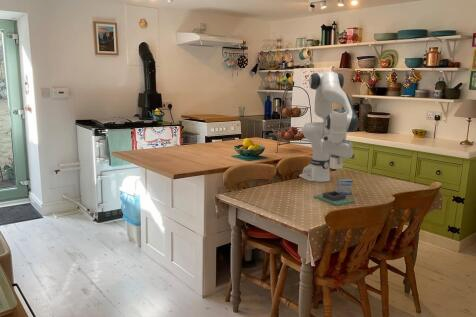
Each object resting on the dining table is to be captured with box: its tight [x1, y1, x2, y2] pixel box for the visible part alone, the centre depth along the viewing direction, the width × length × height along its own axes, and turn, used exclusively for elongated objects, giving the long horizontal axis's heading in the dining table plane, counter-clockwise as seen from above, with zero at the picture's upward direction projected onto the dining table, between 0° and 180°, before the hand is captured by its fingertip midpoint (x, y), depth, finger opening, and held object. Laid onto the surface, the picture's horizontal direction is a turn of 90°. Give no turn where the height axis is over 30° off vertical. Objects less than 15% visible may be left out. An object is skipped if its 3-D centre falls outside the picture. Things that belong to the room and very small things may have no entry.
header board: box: [313, 190, 356, 207], centre depth 221 cm, size 18×14×4 cm
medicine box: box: [335, 178, 353, 196], centre depth 233 cm, size 8×4×9 cm, turn 101°
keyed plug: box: [329, 155, 344, 170], centre depth 217 cm, size 4×6×7 cm, turn 121°
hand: (336, 163), depth 217 cm, fingers closed on keyed plug, 4 cm apart
